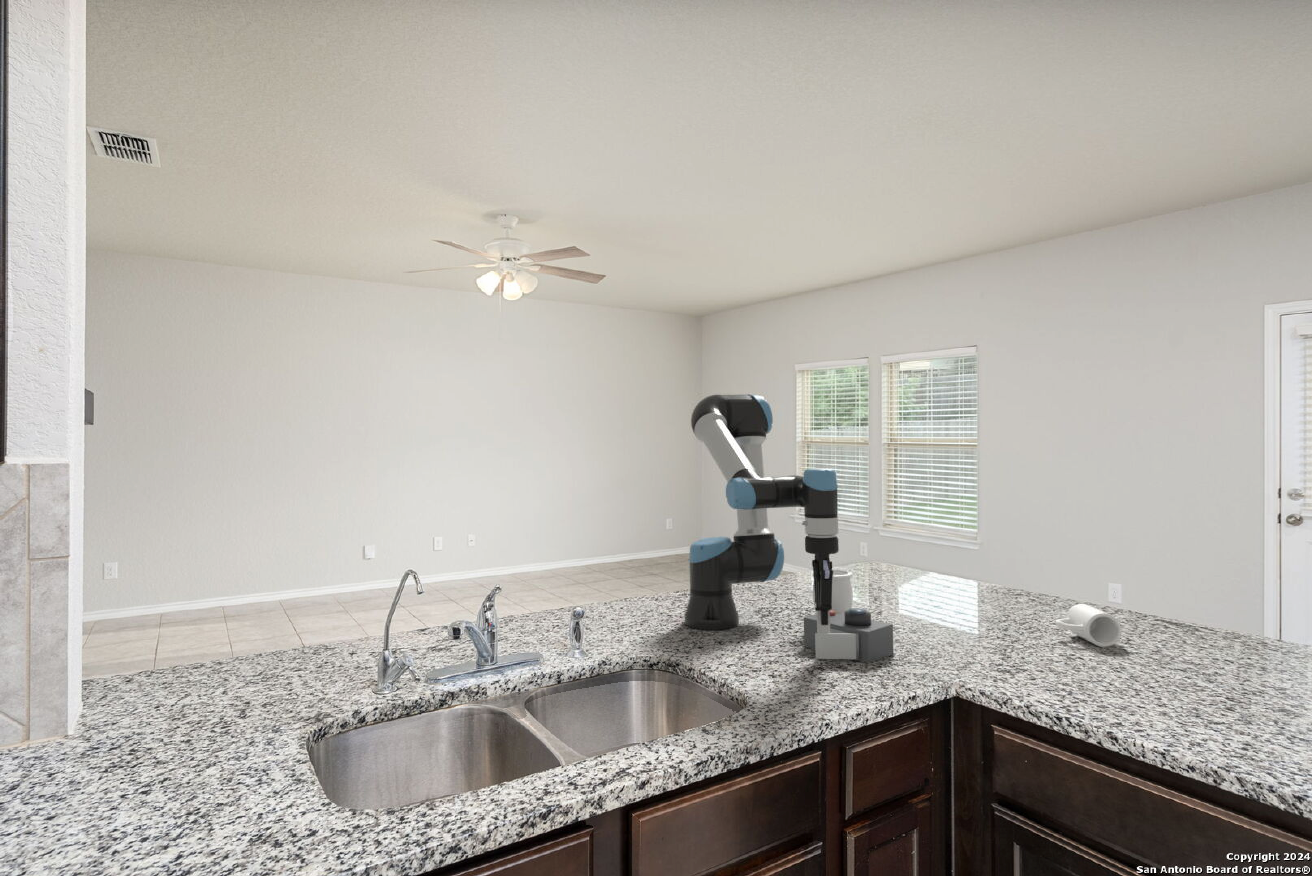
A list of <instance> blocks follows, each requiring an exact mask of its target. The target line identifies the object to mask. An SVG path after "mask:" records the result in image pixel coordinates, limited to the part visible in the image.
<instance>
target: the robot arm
mask: <svg viewBox="0 0 1312 876" xmlns="http://www.w3.org/2000/svg"><path fill="white" fill-rule="evenodd" d="M773 421H774V418H773V411H772V408H771V406H770V403H769V402H768V400H766V399H765V397H764V396H763V395H762V396H761V395H755V394H754V395H753V394H750V393H748V394H713V395H708V396H706V397H704V398H702V399H701V400H700V401H699V402H698V403H697V404H696V405H695V407H694V409H693V410H692V413H691V418H690V425H691V426H690V427H691V429H692V433H693V434H694V436H695V437H696V439H697V440H699V441H700V442H701V443H704V445H705V447H706V449H707V450H708V452H709V454H710V455H711V457H712V459H713V460H714V462H715V463H716V466H717V467H718V469H719V470H720V472H721V474H722V475H723V477H724V479H725V480H726V482H727V483H726V486H725V497H726V501H727V502H726V503H727V504H728V506H729V507H730V508H732V509H733V510H736V516H737V529H736V531H735V532H734V534H733V541H732V540H731V538H730V537H727V536H717V537H715V536H713V537H706V538H703V539H702V538H701V539H698V540H696V541H694V542H692V544H691V545H690V547H689V557H688V563H689V593H690V594H689V600H688V603H687V606H686V611H685V612H684V616H683V617H684V624H685V626H687V627H690V628H692V629H696V630H697V629H698V630H706V631H715V630H716V631H717V630H719V631H720V630H726V629H727V630H728V629H732V628H735V627H737V626H738V625H739V623H740V614H739V612H738V611H737V608H736V604H735V600H734V598H733V585H735V584H748V583H765V582H769V581H773V580H776V579H777V578H778V577H779V576H780V575H781V573H782V572H783V567H784V565H785V564H784V563H785V550H784V547H783V544H782V542H781V541H780V540H779V539H778V538H775V532H774V531H773V530H771V528H770V527H769V522H768V521H769V520H768V509H772V508H773V509H776V508H777V509H778V508H779V509H780V508H781V509H782V508H803V509H804V510H803V511H804V512H803V513H804V514H803V515H804V521H802V522H801V523H802V525H803V526H804V532H805V534H806V536H805V537H804V550H805V552H806V553H808V554H812V555H814V559H812V561H811V565H812V572H813V575H814V577H813V583H814V591H815V603H816V607H815V606H814V611H815V610H816V611H817V633H830V610H831V609H832V577H833V570H832V569H833V562H832V561H831V560H830V559H831V558H830V555H834V554H837V553H838V552H839V551H840V549H839V537H838V536H837V535H838V534H839V517H838V511H839V510H838V508H839V507H838V487H839V486H838V482H837V481H838V479H837V472H836V471H835V469H833V468H807V469H805V470H804V471H803V476H802V475H797V474H796V475H788V476H765V474H764V473H765V471H764V460H763V459H764V458H763V447H762V445H763V443H764V442H765V441H766V440H767V434H769V433H770V432H771V430H772V428H773ZM813 575H812V576H813Z"/></svg>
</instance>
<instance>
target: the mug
mask: <svg viewBox="0 0 1312 876" xmlns="http://www.w3.org/2000/svg"><path fill="white" fill-rule="evenodd" d="M1055 626H1056V627H1058V628H1060V629H1062V630H1067V631H1068V630H1069V631H1070V632H1071V633H1073V634H1074V635H1076V636H1078V637H1080V638H1081V639H1084V640H1086V641H1087V642H1089V643H1091V644H1093V645H1095V646H1097V647H1102V648H1109V647H1112V646H1113V645H1115V644H1117V643H1118V641H1119V640H1120V639H1121V637H1122V632H1123V631H1122V626H1121V623H1120V622H1119V620H1118V619H1117V618H1116V617H1115V616H1113V615H1112V614H1109V613H1107V612H1106V611H1102V610H1100V609H1099V608H1096V607H1093V606H1091V605H1089V604H1084V603H1080V604H1079V603H1078V604H1076V605H1073V606H1071V608H1069V609H1068V610H1067V611H1066V614H1065V618H1059V619H1056V620H1055Z"/></svg>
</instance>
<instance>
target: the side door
mask: <svg viewBox="0 0 1312 876" xmlns="http://www.w3.org/2000/svg"><path fill="white" fill-rule="evenodd" d="M814 650H815V659H816V660H818V659H819V660H854V659H859V634H858V633H855V634H851V633H815V649H814Z"/></svg>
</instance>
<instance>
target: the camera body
mask: <svg viewBox="0 0 1312 876" xmlns="http://www.w3.org/2000/svg"><path fill="white" fill-rule="evenodd" d="M815 633H817V614H816V613H814V614H811V615H807V616H804V617H803V646H804V647H807V648H809V649H813V650H816V649H815ZM830 633H851V634H855V633H858V634H859V659H853V661H854V660H855V661H858V662H861V663H865V664H872V663H874V662H877V661H880V660H882V659H884V658H887V657H890V656H893V655H894V624H893V623H889V622H884V621H881V620H875V619H872V613H871V612H870V611H868V610H867V609H865V608H860V607H859V608H857V607H856V608H854V607H852V608H851V609H849V610H847V611H845V612H844V614H842V613H837V612H835V611H830Z"/></svg>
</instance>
